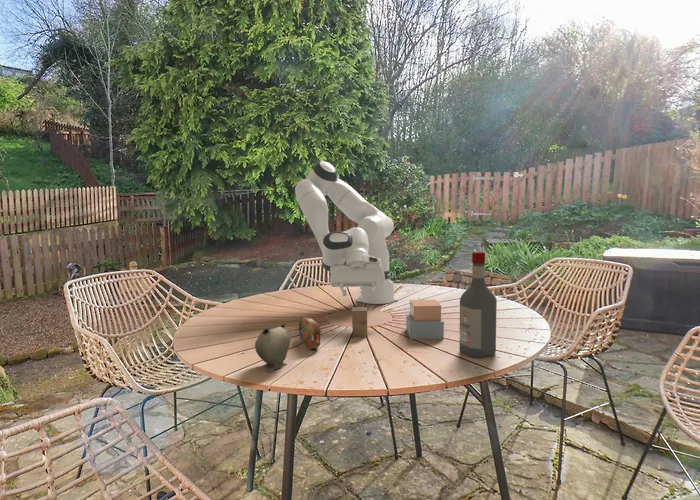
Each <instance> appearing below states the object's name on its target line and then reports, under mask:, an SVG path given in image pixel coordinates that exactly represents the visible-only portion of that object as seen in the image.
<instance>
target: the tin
mask: <svg viewBox="0 0 700 500" xmlns="http://www.w3.org/2000/svg"><path fill="white" fill-rule="evenodd" d="M298 325H299V326H298V328H299V329H298V330H299V331H298V332H299V339H300V341H301V343H302V344H303V345H304V346H305V347H306V348H307V349H308V350H314V349H318V348H319V347H320V345H321V333H322V331H321V327H320V325H319V323H318V322H316V321H315V320H314V319H313V318H311V317H310V316H309V317H308V316H307V317H300V320H299V324H298Z"/></svg>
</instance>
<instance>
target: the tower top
mask: <svg viewBox="0 0 700 500" xmlns="http://www.w3.org/2000/svg"><path fill="white" fill-rule="evenodd" d="M409 314H410V315H411V317H412V319H413V320H414V321H441V318H442V304H441V303H440V302H438V301H437V300H436V299H409Z"/></svg>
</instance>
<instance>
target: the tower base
mask: <svg viewBox="0 0 700 500" xmlns="http://www.w3.org/2000/svg"><path fill="white" fill-rule="evenodd" d="M405 315H406V319H405V322H406V325H405V327H406V329H405V330H406V332H407V335H408V337H409V340H434V339H435V340H442V339H443V340H444V339H445V336H444V335H445V331H444V328H445V327H444V326H445V324H444V323H445V322H444V320H443V318H442V317H441V321H414V320H413V319H412V317H411V315H410V313H406V314H405Z"/></svg>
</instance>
